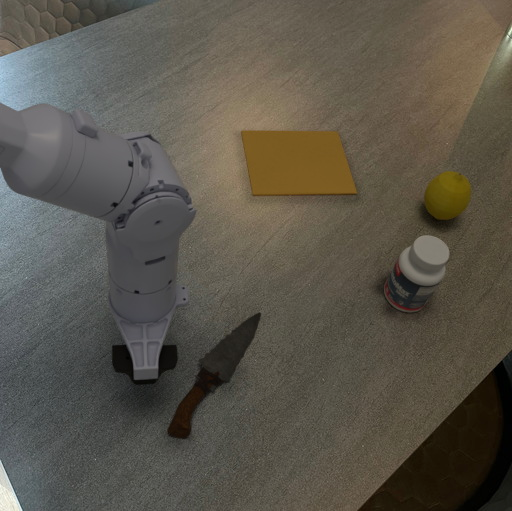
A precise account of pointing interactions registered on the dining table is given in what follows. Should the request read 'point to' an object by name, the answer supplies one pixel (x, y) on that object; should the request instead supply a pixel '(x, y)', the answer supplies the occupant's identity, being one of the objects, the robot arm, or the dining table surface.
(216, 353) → the knife
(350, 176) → the cloth
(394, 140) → the dining table surface
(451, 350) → the dining table surface
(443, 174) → the fruit
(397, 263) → the pill bottle
